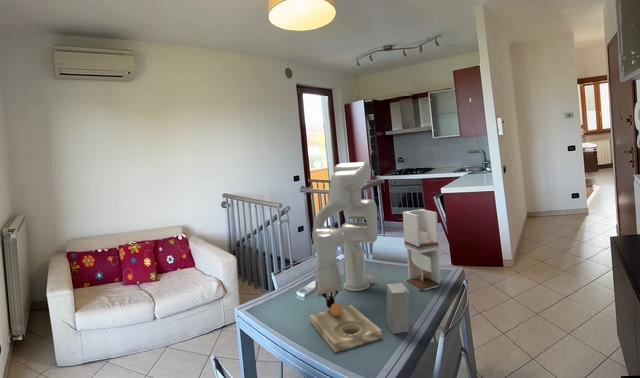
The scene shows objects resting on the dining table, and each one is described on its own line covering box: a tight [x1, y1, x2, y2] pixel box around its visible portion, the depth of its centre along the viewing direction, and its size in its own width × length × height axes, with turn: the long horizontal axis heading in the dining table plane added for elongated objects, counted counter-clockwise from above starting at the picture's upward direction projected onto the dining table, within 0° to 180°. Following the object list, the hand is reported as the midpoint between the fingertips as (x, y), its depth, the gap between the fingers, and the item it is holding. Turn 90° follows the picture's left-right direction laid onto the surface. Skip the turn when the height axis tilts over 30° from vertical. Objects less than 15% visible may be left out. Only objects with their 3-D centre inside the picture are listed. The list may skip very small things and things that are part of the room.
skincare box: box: [385, 282, 410, 335], centre depth 133 cm, size 8×7×16 cm
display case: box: [402, 208, 441, 290], centre depth 169 cm, size 11×11×35 cm
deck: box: [309, 304, 383, 353], centre depth 136 cm, size 18×24×3 cm
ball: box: [329, 302, 344, 316], centre depth 141 cm, size 5×5×5 cm
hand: (330, 307), depth 147 cm, fingers closed
